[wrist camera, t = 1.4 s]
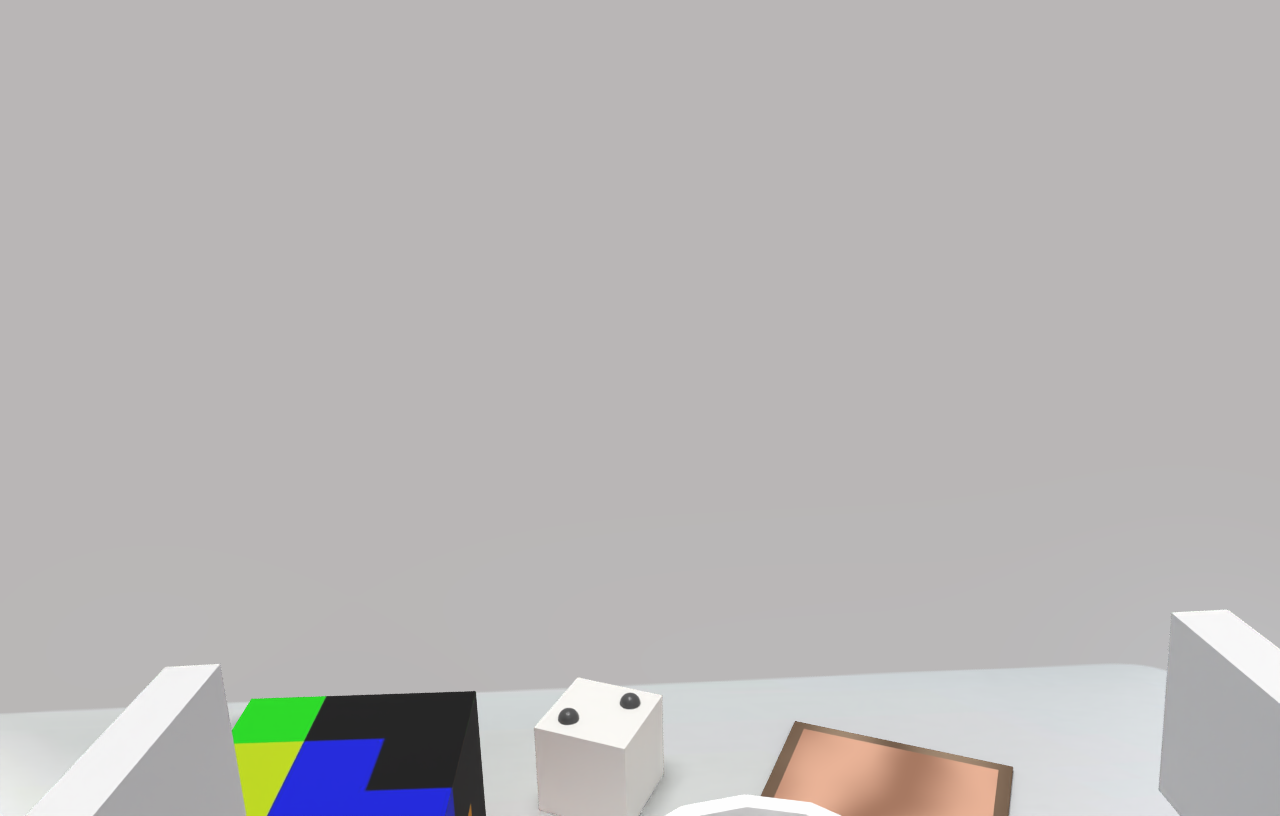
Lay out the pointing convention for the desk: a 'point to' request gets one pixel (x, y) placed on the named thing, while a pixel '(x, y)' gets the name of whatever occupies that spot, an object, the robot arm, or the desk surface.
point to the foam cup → (752, 807)
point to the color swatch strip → (884, 777)
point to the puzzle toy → (361, 755)
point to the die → (599, 751)
